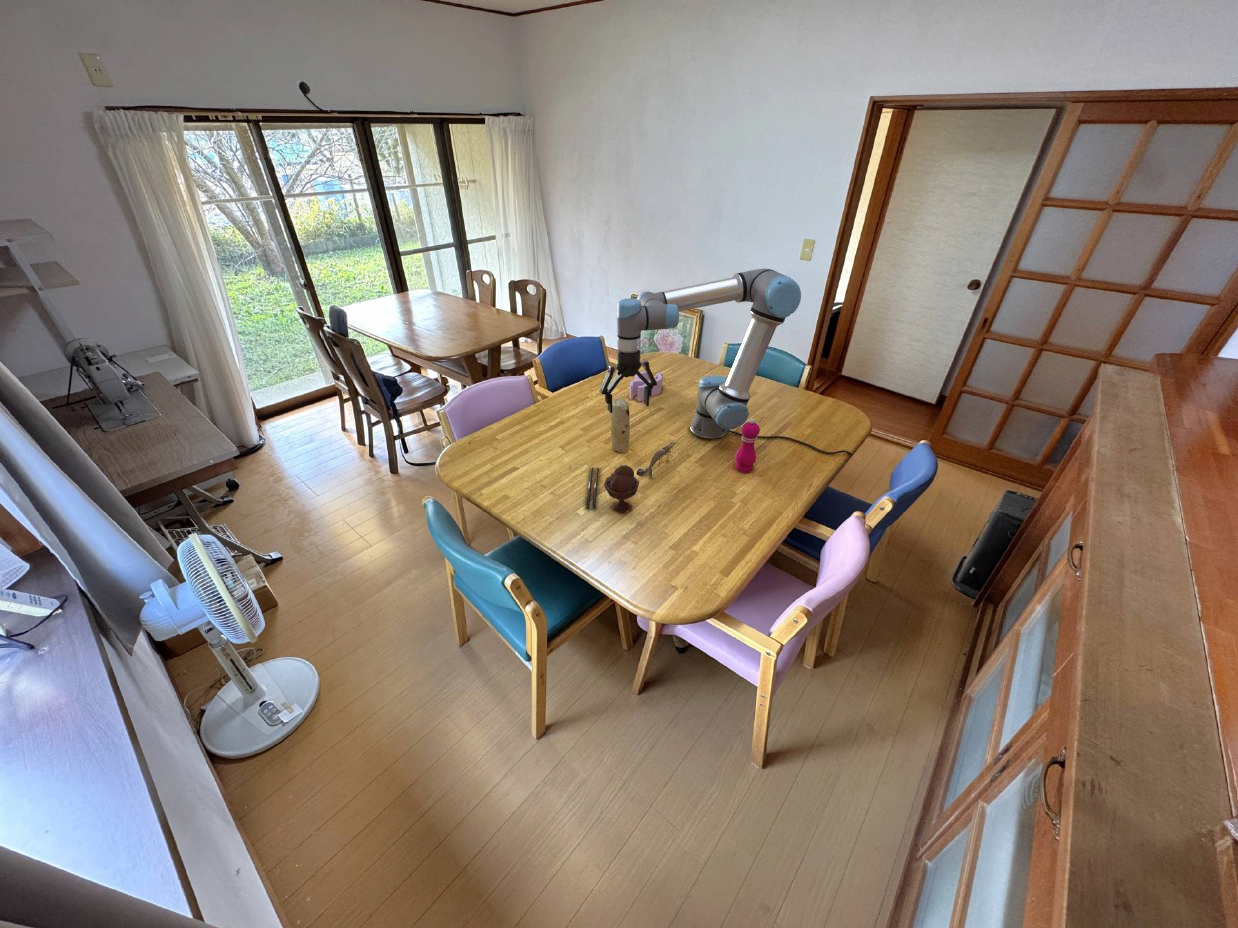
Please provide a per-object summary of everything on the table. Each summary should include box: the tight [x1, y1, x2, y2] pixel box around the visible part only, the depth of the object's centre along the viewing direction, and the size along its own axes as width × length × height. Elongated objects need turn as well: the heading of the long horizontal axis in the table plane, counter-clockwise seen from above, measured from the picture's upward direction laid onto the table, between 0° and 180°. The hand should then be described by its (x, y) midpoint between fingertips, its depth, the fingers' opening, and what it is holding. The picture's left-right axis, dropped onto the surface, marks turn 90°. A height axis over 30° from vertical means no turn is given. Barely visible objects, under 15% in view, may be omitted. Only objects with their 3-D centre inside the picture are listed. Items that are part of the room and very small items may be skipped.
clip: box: [629, 371, 664, 402], centre depth 225 cm, size 20×12×7 cm, turn 148°
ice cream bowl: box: [603, 464, 640, 513], centre depth 151 cm, size 11×11×15 cm
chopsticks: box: [585, 467, 599, 510], centre depth 164 cm, size 3×23×1 cm, turn 179°
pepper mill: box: [734, 418, 761, 474], centre depth 168 cm, size 7×7×20 cm
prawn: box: [636, 440, 677, 478], centre depth 173 cm, size 25×12×7 cm, turn 144°
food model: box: [610, 397, 631, 453], centre depth 180 cm, size 10×7×20 cm
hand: (628, 408), depth 168 cm, fingers open, 13 cm apart
